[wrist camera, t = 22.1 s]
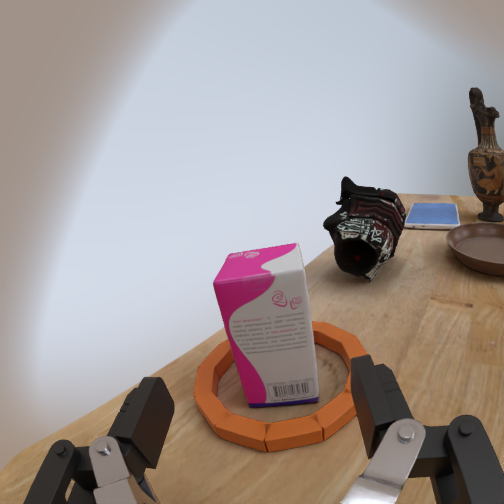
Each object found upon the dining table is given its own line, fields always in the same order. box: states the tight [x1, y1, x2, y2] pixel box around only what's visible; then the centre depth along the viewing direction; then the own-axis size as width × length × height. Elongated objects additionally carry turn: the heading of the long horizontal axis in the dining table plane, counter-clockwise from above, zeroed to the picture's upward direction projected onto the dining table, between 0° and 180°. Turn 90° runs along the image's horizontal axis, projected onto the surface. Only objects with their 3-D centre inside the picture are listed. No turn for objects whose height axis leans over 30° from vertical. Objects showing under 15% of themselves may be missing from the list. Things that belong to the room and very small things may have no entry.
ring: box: [193, 321, 367, 452], centre depth 23 cm, size 15×15×2 cm
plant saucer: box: [446, 223, 504, 276], centre depth 33 cm, size 18×18×3 cm
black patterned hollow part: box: [323, 177, 406, 282], centre depth 39 cm, size 10×15×14 cm
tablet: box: [404, 203, 460, 229], centre depth 57 cm, size 19×13×1 cm, turn 143°
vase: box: [468, 88, 504, 222], centre depth 45 cm, size 12×12×30 cm
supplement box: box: [213, 243, 319, 408], centre depth 22 cm, size 6×6×12 cm
